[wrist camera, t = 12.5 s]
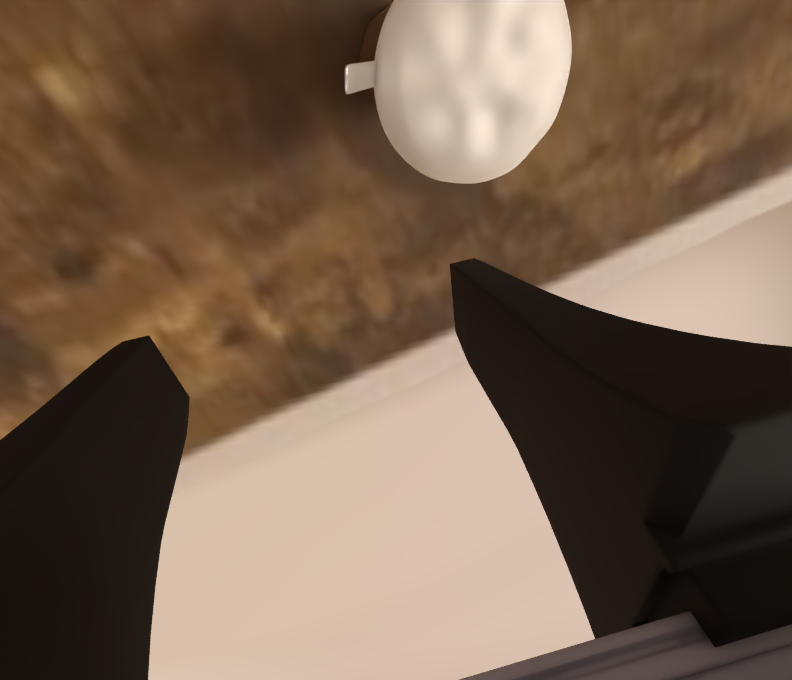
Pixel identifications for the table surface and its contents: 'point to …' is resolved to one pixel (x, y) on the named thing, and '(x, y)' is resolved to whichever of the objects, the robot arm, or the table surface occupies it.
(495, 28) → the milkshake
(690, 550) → the robot arm
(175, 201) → the table surface
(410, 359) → the table surface
